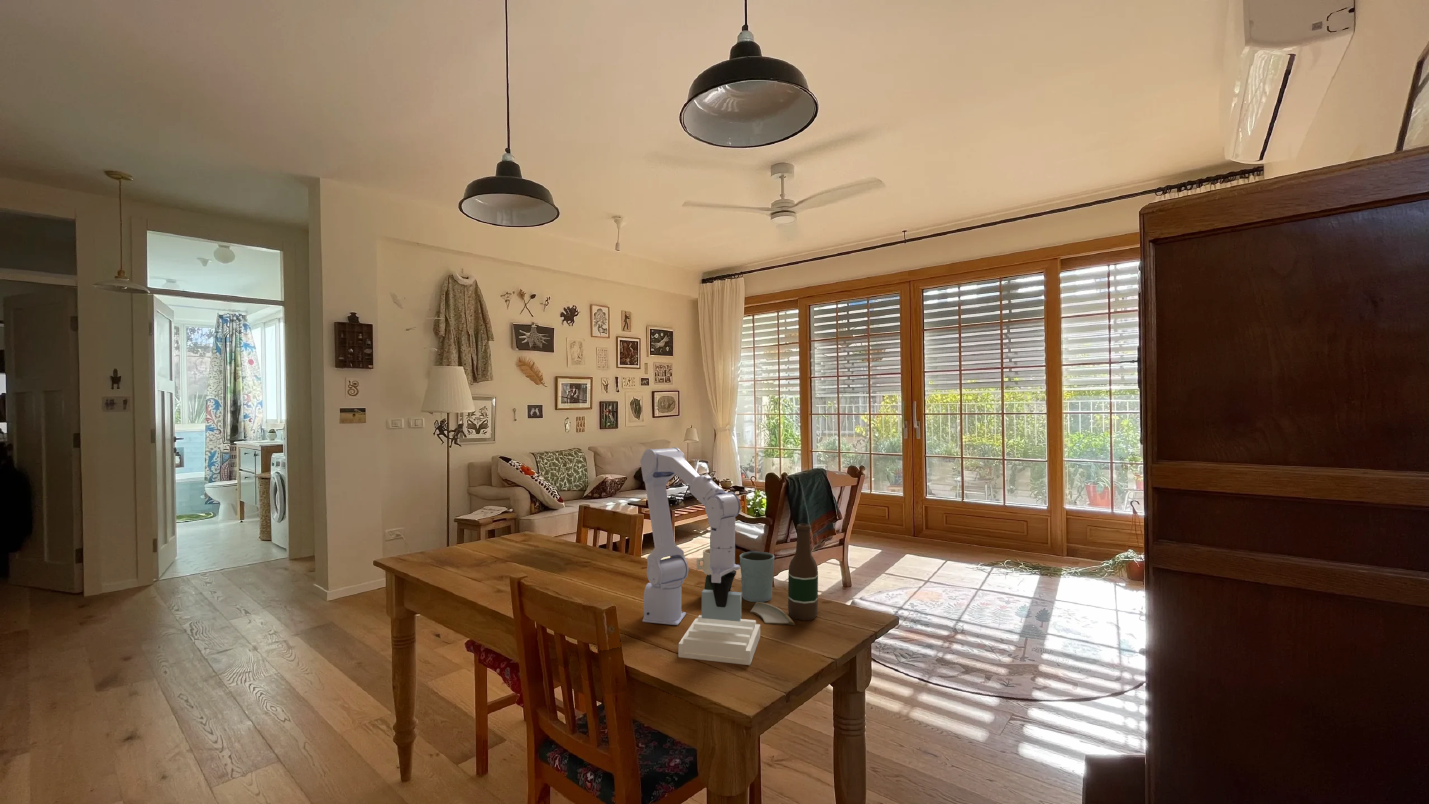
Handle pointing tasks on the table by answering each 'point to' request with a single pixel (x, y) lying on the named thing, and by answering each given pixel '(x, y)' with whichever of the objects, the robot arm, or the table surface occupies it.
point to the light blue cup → (757, 576)
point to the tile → (721, 613)
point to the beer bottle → (803, 578)
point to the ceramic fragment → (771, 614)
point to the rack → (720, 640)
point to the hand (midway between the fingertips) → (722, 604)
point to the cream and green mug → (705, 567)
